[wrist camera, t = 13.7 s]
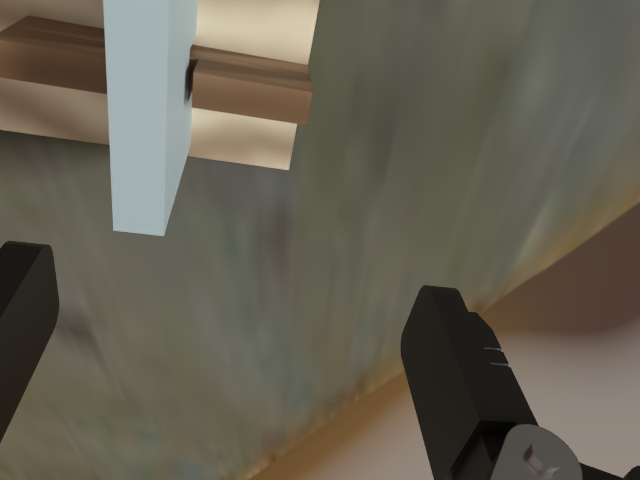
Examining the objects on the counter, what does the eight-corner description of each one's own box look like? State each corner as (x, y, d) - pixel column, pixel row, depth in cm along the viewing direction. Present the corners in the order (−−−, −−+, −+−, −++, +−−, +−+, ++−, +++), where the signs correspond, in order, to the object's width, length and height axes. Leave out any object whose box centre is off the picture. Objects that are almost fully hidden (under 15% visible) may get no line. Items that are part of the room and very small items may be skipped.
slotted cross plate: (154, -52, 34) (102, -17, 24) (200, -43, 35) (169, -4, 24) (152, 140, 42) (113, 230, 31) (190, 145, 42) (163, 236, 32)
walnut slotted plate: (27, 15, 36) (-11, 38, 31) (307, 64, 39) (312, 92, 34) (32, 49, 37) (-4, 76, 32) (302, 94, 41) (306, 125, 36)
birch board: (-196, -146, 31) (-209, -147, 30) (324, -35, 36) (325, -33, 35) (-119, 107, 40) (-127, 112, 39) (288, 164, 45) (288, 169, 44)
